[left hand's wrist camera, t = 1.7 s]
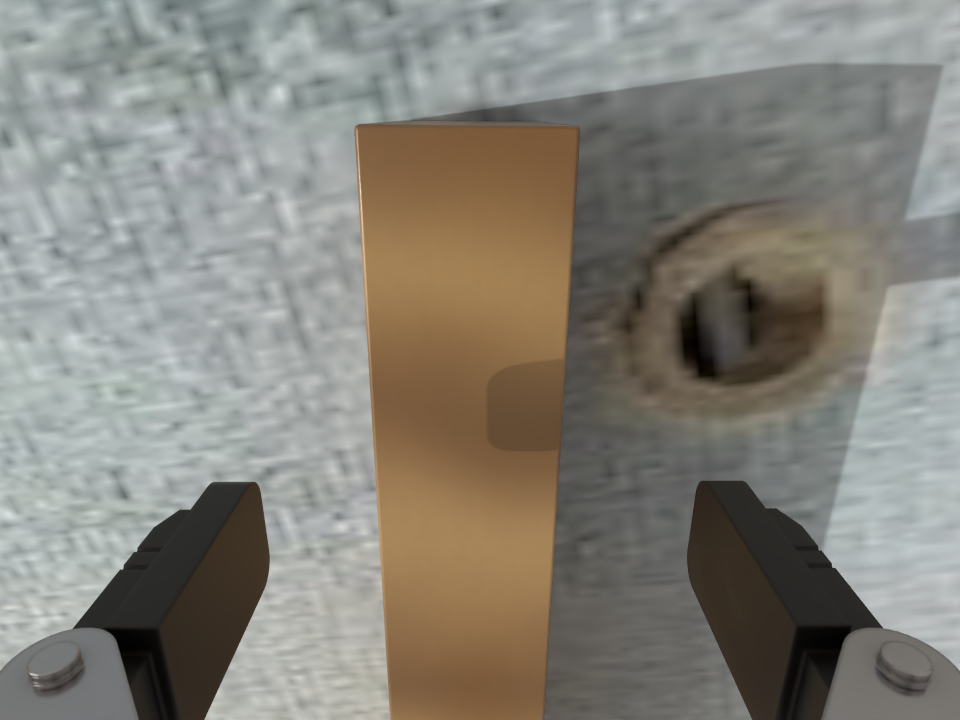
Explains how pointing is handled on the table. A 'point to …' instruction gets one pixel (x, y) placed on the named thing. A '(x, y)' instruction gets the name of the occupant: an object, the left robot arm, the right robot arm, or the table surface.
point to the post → (467, 401)
